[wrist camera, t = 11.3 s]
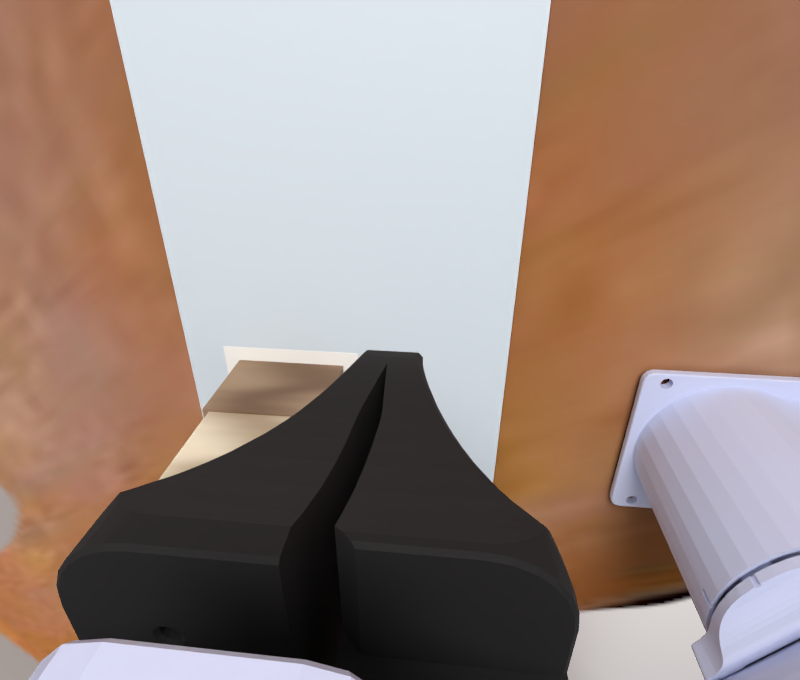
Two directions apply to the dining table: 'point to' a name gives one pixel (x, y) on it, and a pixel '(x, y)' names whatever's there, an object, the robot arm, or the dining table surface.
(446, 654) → the robot arm
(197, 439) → the birch block
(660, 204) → the dining table surface
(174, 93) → the pale grey rectangular board
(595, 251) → the dining table surface
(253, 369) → the walnut base block
